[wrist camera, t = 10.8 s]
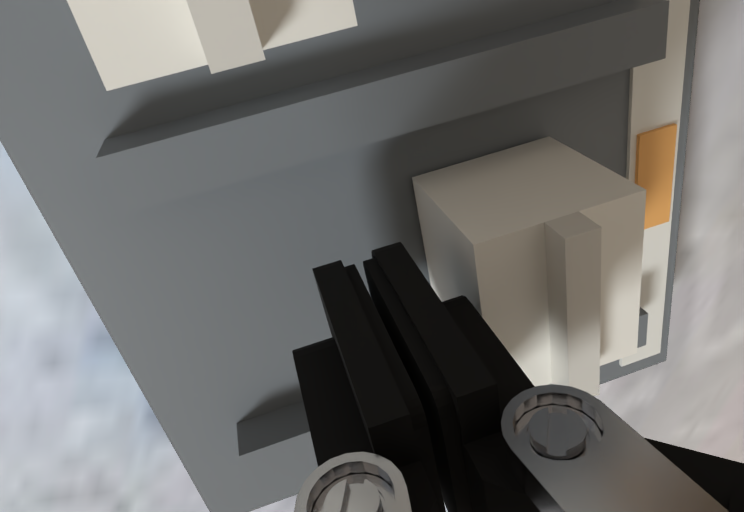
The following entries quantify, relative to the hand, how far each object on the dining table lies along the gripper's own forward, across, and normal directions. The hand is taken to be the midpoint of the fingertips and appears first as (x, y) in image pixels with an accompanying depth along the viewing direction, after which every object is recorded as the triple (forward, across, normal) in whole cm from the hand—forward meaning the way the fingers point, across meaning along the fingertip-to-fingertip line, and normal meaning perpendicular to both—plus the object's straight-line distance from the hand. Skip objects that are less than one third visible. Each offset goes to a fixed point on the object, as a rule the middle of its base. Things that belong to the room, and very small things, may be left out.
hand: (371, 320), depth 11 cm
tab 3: (+2, -3, 0) cm, 4 cm away
